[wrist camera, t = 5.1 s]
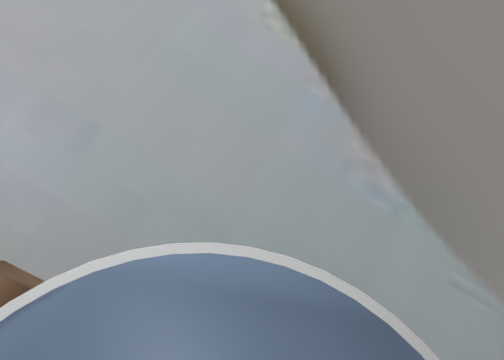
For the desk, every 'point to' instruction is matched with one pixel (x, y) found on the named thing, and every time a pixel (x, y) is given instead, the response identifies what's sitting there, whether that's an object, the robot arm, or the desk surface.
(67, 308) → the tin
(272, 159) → the desk surface
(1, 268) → the base slab
